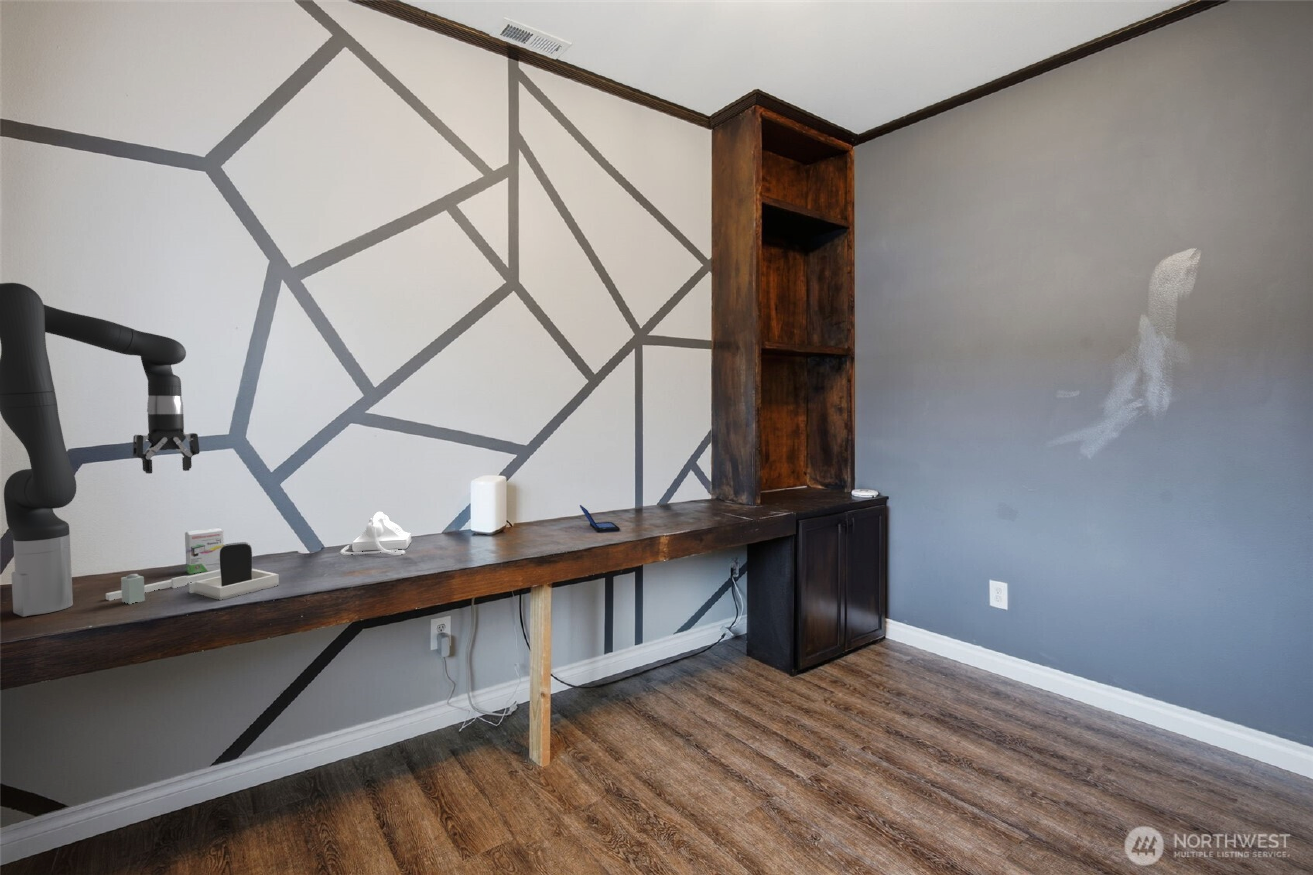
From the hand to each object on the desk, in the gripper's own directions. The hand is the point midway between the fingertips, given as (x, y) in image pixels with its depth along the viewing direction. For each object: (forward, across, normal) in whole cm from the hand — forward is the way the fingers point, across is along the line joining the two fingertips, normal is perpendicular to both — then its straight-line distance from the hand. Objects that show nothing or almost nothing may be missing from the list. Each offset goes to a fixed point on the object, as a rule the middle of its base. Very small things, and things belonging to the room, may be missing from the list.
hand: (168, 471), depth 163 cm
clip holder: (+30, -2, -11) cm, 32 cm away
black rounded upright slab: (+30, +4, -25) cm, 39 cm away
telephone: (+31, +50, -17) cm, 61 cm away
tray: (+30, +4, -25) cm, 39 cm away
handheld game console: (+31, +115, -65) cm, 136 cm away
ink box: (+30, +10, +4) cm, 32 cm away
